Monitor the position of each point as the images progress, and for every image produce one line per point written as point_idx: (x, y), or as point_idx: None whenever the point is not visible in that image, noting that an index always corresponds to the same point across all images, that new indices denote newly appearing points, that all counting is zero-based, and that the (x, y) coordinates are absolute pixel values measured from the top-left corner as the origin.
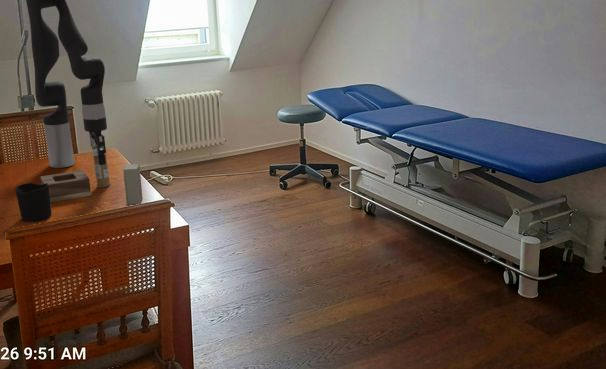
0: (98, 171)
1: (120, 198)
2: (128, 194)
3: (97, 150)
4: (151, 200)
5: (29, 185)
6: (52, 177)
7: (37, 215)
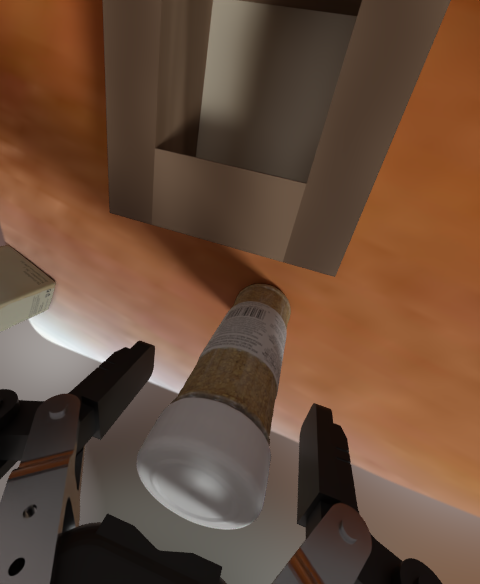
0: (223, 325)
1: (78, 266)
2: None
3: (30, 432)
4: None
5: None
6: None
7: None
